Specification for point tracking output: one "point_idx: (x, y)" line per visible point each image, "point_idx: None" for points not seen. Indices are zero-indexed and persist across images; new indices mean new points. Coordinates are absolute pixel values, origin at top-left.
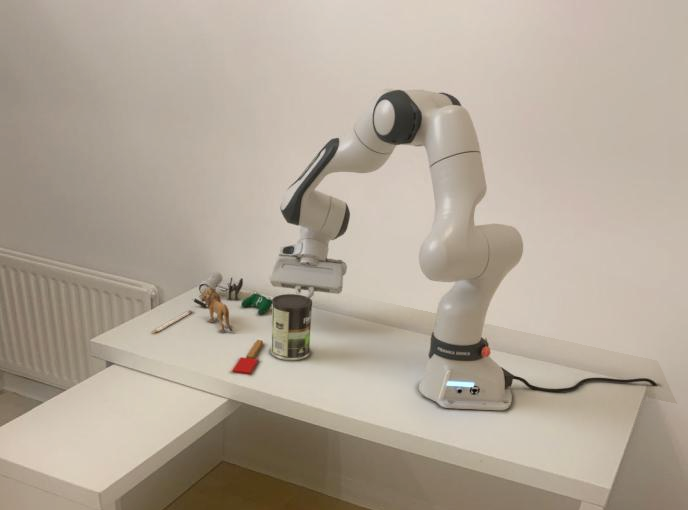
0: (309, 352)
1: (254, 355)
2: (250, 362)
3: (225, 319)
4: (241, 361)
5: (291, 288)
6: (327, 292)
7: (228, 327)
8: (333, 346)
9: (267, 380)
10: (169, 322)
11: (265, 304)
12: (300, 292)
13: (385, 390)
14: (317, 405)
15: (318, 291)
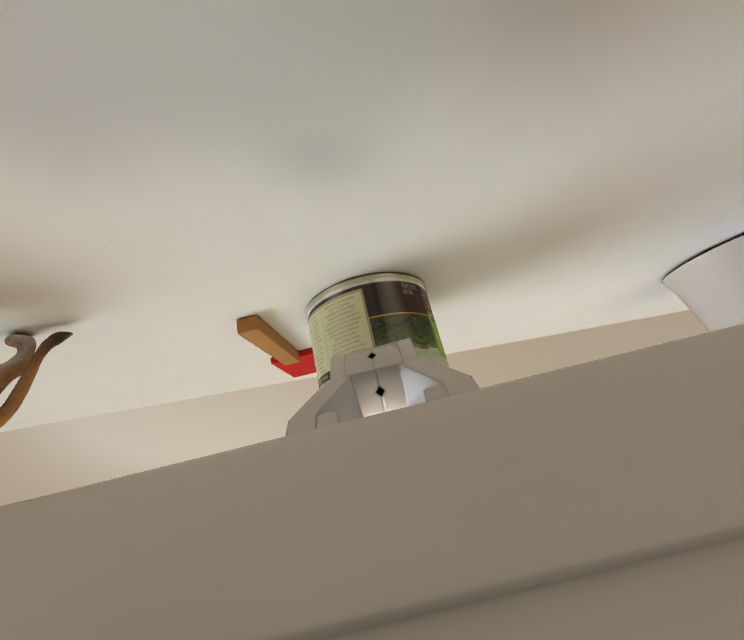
0: (424, 286)
1: (293, 352)
2: (306, 361)
3: (26, 388)
4: (286, 366)
5: (207, 456)
6: (638, 355)
7: (47, 350)
8: (511, 216)
9: None
10: None
11: None
12: (335, 414)
13: (590, 296)
14: (461, 350)
15: (532, 380)
